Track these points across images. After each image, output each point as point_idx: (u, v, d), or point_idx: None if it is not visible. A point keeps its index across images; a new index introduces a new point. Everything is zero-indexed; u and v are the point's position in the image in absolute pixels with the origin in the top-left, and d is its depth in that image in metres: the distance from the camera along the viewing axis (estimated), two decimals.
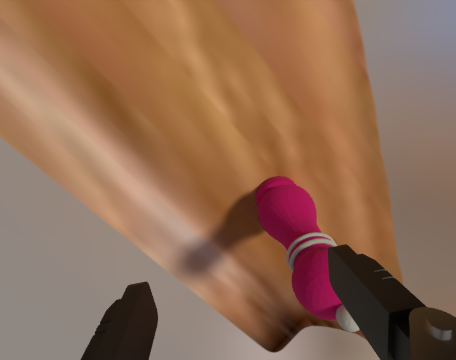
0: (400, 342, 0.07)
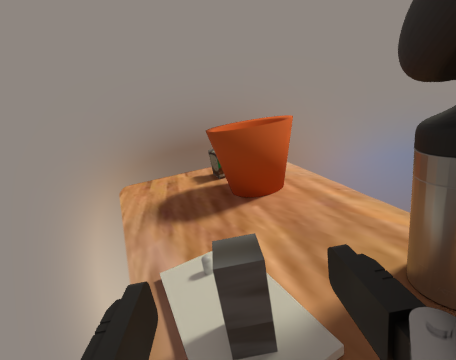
0: (400, 342, 0.07)
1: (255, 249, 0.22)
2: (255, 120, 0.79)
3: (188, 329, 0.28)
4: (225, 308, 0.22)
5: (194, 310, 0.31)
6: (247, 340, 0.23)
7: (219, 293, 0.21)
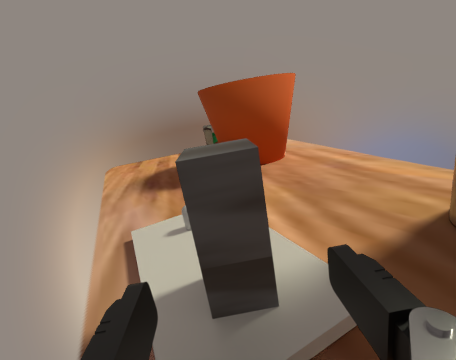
0: (400, 342, 0.07)
1: (245, 144, 0.15)
2: None
3: (155, 285, 0.20)
4: (197, 232, 0.14)
5: (167, 265, 0.23)
6: (233, 286, 0.15)
7: (188, 205, 0.14)
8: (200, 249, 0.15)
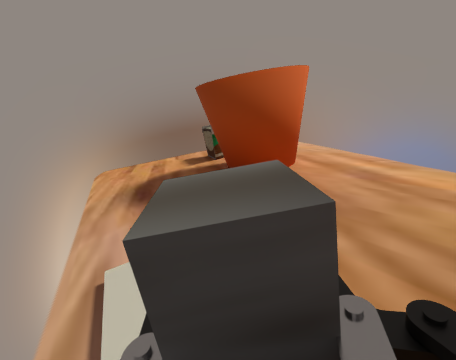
0: None
1: (289, 181, 0.07)
2: None
3: None
4: None
5: None
6: None
7: (159, 334, 0.06)
8: None
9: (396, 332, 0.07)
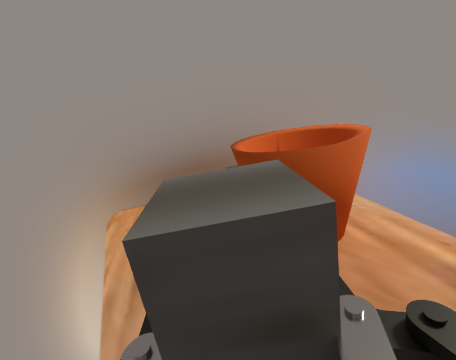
0: None
1: (289, 181, 0.07)
2: (297, 130, 0.55)
3: None
4: None
5: None
6: None
7: (159, 335, 0.06)
8: None
9: (396, 332, 0.07)
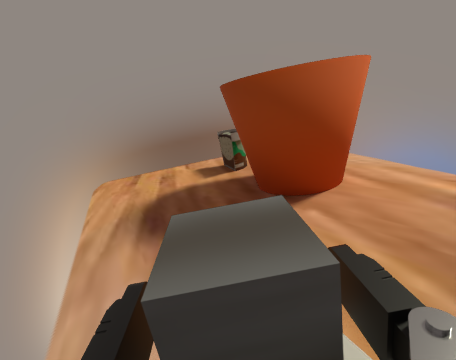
0: (399, 342, 0.07)
1: (294, 229, 0.07)
2: None
3: None
4: None
5: None
6: None
7: None
8: None
9: None
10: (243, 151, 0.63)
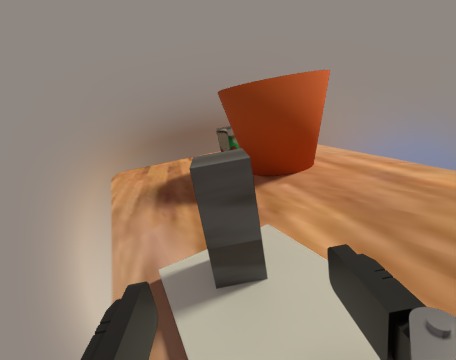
0: (400, 342, 0.07)
1: (241, 154, 0.19)
2: None
3: None
4: (205, 220, 0.19)
5: (223, 337, 0.16)
6: (232, 262, 0.20)
7: (198, 200, 0.18)
8: (207, 234, 0.19)
9: None
10: (237, 144, 0.76)
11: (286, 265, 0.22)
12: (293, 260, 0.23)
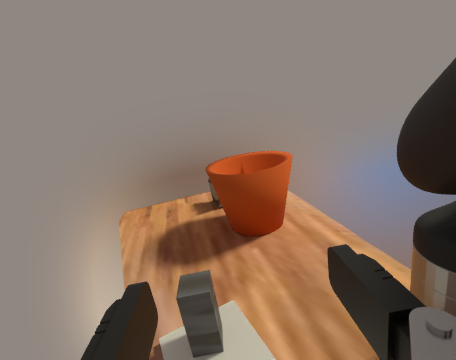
0: (400, 342, 0.07)
1: (206, 283, 0.34)
2: (255, 154, 0.79)
3: None
4: (185, 323, 0.33)
5: None
6: (202, 343, 0.35)
7: (181, 313, 0.33)
8: (187, 329, 0.34)
9: None
10: None
11: (236, 341, 0.37)
12: (241, 337, 0.37)
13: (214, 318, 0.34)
